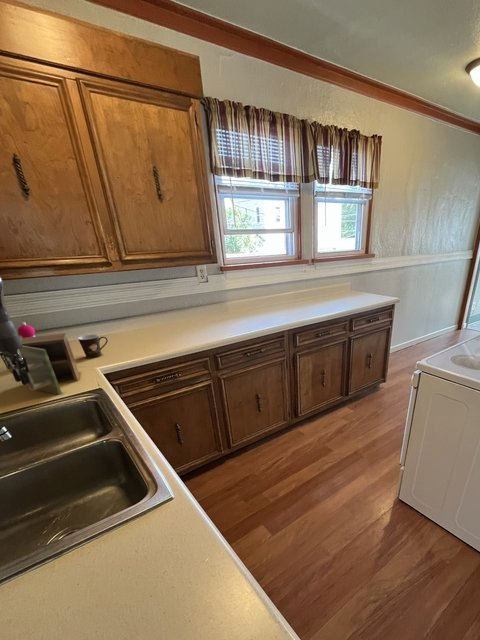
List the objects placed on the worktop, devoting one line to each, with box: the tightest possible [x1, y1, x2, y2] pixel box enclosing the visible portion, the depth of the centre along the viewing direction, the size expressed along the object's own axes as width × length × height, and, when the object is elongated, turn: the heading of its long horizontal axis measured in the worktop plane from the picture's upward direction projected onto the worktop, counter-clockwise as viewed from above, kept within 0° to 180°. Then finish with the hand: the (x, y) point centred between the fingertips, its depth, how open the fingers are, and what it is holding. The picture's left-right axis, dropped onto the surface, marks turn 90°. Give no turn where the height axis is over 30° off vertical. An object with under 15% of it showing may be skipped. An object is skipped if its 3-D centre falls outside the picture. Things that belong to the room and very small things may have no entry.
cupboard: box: [20, 332, 80, 385], centre depth 132 cm, size 10×14×18 cm
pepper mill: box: [17, 321, 36, 341], centre depth 148 cm, size 7×7×20 cm
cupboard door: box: [18, 346, 63, 395], centre depth 119 cm, size 8×14×18 cm, turn 68°
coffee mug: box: [77, 334, 108, 359], centre depth 161 cm, size 12×9×10 cm
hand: (23, 382), depth 115 cm, fingers open, 4 cm apart
